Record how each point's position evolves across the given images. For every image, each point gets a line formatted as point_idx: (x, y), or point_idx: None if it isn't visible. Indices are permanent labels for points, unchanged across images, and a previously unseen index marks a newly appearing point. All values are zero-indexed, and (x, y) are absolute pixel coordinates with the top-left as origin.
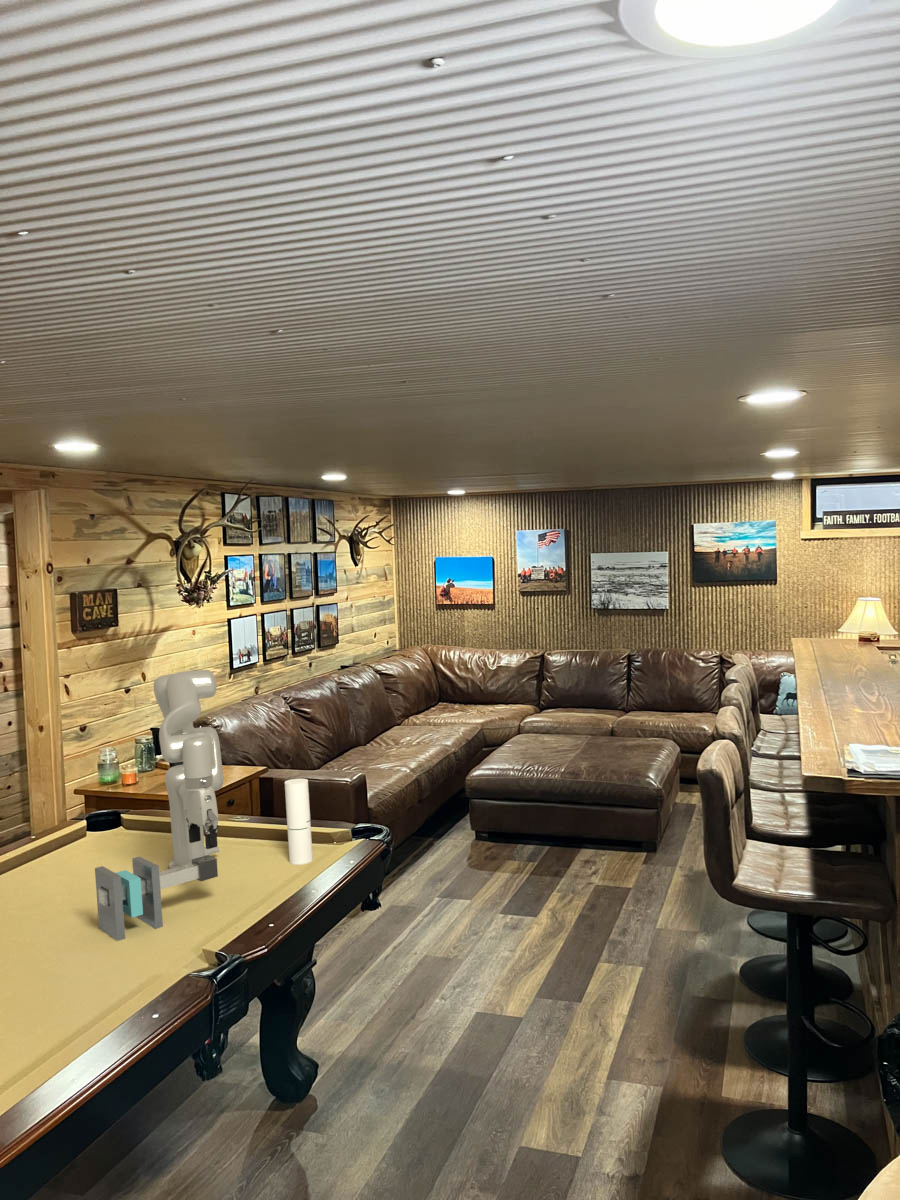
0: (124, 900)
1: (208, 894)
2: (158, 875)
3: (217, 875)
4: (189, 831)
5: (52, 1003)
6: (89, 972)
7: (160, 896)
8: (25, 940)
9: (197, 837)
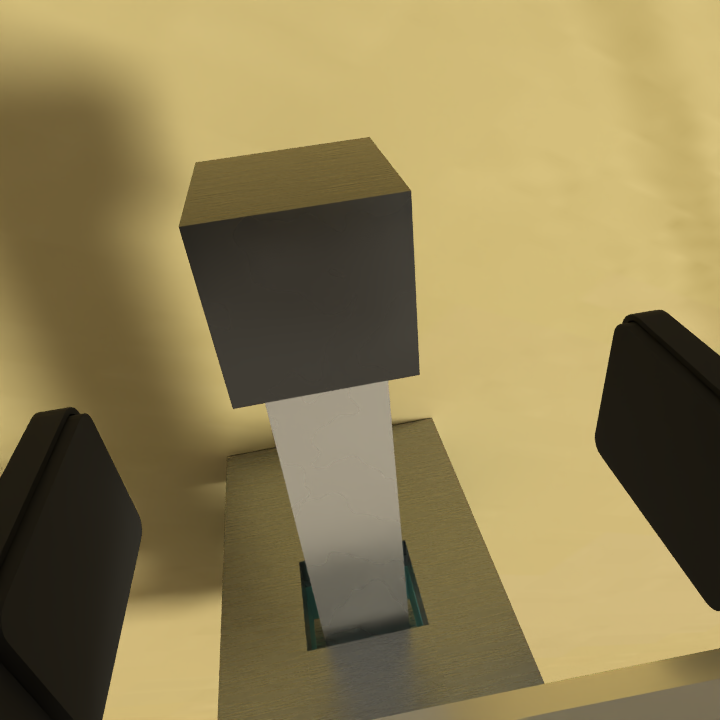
0: (310, 609)
1: (88, 87)
2: (524, 642)
3: (371, 142)
4: (98, 706)
5: (663, 647)
6: (587, 601)
7: (477, 527)
8: (217, 709)
9: (87, 491)
